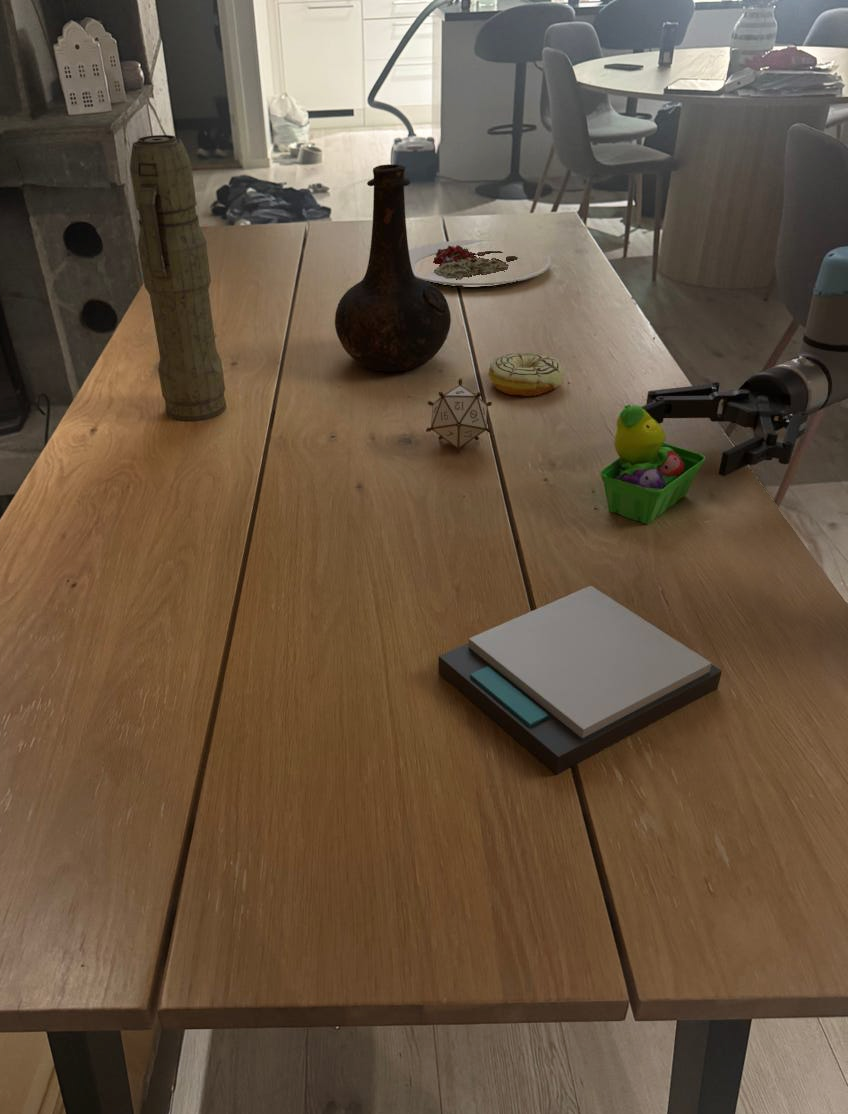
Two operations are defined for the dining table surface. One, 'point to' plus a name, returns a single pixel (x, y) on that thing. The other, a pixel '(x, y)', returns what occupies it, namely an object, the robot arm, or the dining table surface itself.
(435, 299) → the glass bottle
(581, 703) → the kitchen scale
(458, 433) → the game die
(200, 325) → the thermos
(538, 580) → the dining table surface
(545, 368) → the decorated donut
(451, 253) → the plated food
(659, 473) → the fruit basket
